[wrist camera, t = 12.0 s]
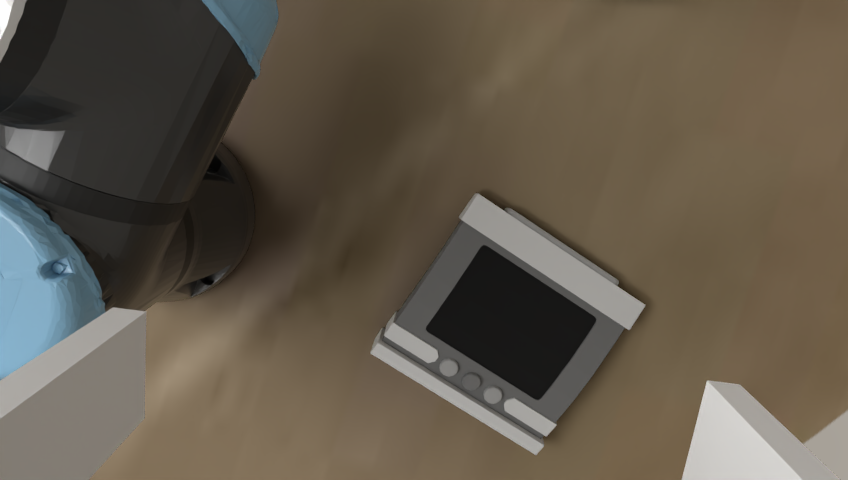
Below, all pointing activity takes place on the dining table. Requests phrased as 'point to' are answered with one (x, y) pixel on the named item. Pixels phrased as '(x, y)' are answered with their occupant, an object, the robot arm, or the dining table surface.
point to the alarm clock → (507, 323)
